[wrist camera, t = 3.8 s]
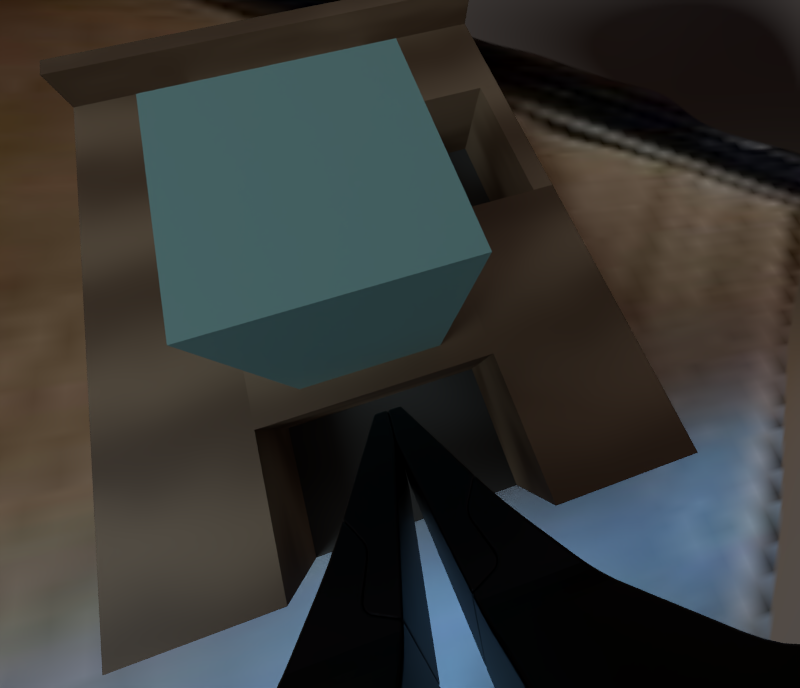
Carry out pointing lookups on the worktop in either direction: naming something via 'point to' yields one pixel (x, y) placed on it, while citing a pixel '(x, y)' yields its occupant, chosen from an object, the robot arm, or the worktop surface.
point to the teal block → (306, 216)
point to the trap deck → (346, 395)
